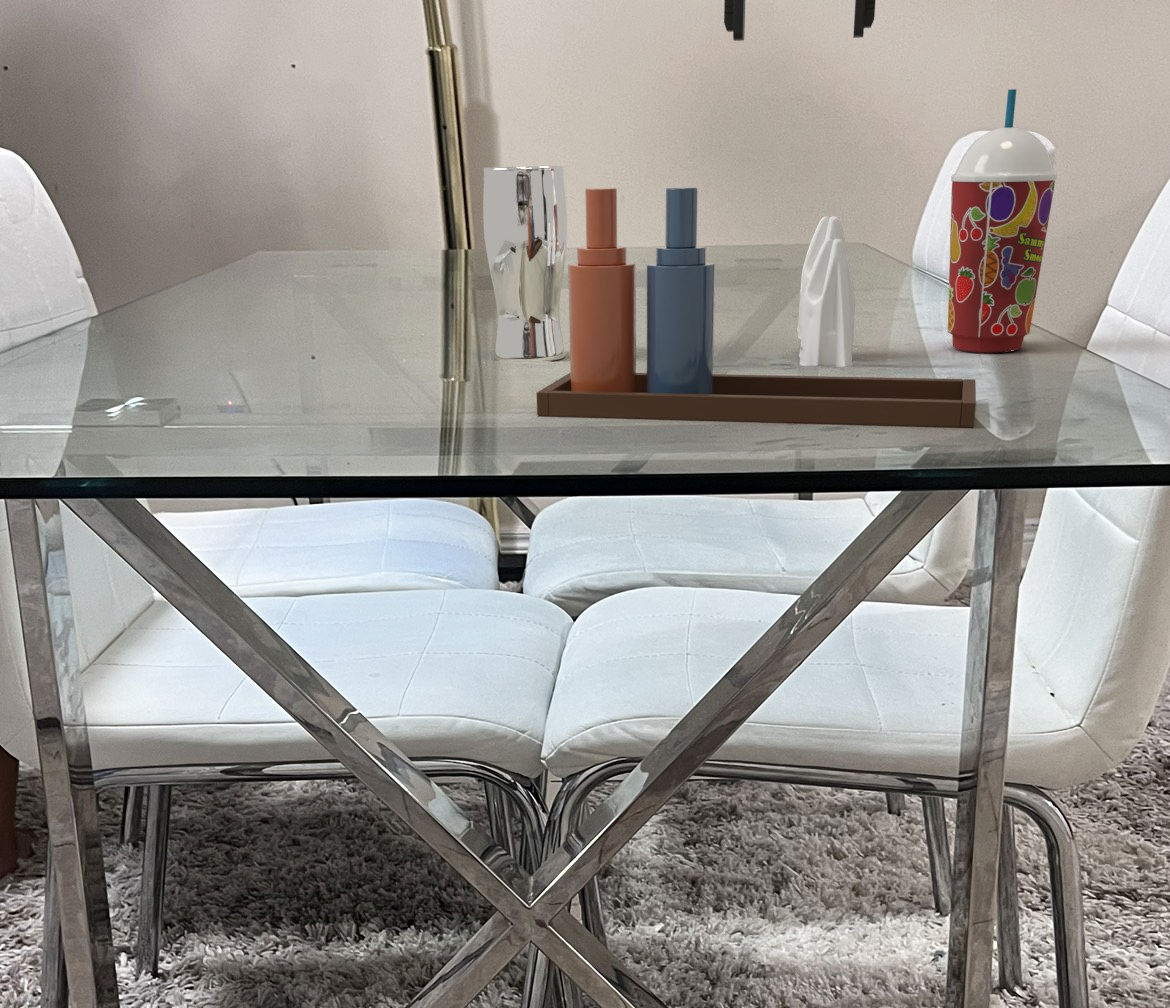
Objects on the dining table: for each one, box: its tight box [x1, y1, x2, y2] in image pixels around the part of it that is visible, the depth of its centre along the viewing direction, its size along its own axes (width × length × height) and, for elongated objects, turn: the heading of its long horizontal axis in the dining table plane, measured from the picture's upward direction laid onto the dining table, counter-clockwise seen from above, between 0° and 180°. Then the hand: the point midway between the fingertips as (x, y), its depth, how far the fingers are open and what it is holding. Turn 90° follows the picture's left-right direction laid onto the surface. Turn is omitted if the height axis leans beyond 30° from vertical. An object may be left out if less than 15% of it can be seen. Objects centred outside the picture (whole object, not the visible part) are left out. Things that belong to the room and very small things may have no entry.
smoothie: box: [947, 88, 1058, 354], centre depth 116 cm, size 8×8×20 cm
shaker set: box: [796, 215, 856, 368], centre depth 112 cm, size 12×4×11 cm, turn 174°
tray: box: [536, 372, 977, 429], centre depth 92 cm, size 28×9×2 cm, turn 76°
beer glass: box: [482, 165, 568, 362], centre depth 117 cm, size 7×7×15 cm
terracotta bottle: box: [567, 187, 637, 393], centre depth 92 cm, size 4×4×14 cm
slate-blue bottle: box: [646, 186, 716, 394], centre depth 91 cm, size 4×4×14 cm
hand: (798, 38), depth 101 cm, fingers open, 8 cm apart
